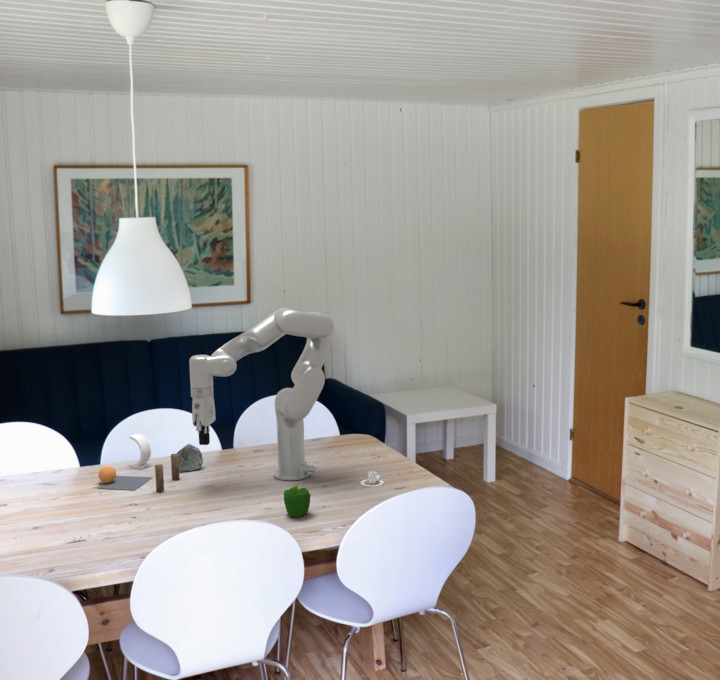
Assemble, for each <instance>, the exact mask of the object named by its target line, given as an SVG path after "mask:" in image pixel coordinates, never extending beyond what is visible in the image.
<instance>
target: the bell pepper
mask: <svg viewBox="0 0 720 680" xmlns="http://www.w3.org/2000/svg"><path fill="white" fill-rule="evenodd" d="M283 502H284V507H285V509H286V513H287V514H288V515H289V516H290V517H291V518H301V517H303V516H305V515H307V514H308V513H309V508H310V505H311V493H310V491H309V490H308V489H307V488H306V487H302V488H298V485H296V484H294V485H292V486H291V487H290V488H289V489H284V492H283Z"/></svg>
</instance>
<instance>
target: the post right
mask: <svg viewBox="0 0 720 680" xmlns="http://www.w3.org/2000/svg"><path fill="white" fill-rule="evenodd" d="M170 467H171V468H170V469H171V480H172V481H178V480H180V472H179V458H178V454H177V453H172V454H170Z"/></svg>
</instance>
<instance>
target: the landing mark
mask: <svg viewBox="0 0 720 680" xmlns="http://www.w3.org/2000/svg"><path fill="white" fill-rule="evenodd" d="M153 478H154V477H151V476H130V475H128V476H127V475H116V478H115V480H114V481H113V482H111V483H103V484H102V485H100V486H98V487H96V489H97V490H117V491H118V490H119V491H136V490H138V489H139V488H140V487H142V486H143V485H144V484H146V483H147V482H149V481H150V480H152V479H153Z"/></svg>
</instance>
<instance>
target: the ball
mask: <svg viewBox="0 0 720 680" xmlns="http://www.w3.org/2000/svg"><path fill="white" fill-rule="evenodd" d="M97 476H98V479H99V481H100V483H101V482H102V483H103V484H104V483H111V482H113V481H114V480H115V478H116V476H117V471H116V469H115V468H114V467H112V466H110V465H106V466H102V468H100V469H99V471H98V475H97Z"/></svg>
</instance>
